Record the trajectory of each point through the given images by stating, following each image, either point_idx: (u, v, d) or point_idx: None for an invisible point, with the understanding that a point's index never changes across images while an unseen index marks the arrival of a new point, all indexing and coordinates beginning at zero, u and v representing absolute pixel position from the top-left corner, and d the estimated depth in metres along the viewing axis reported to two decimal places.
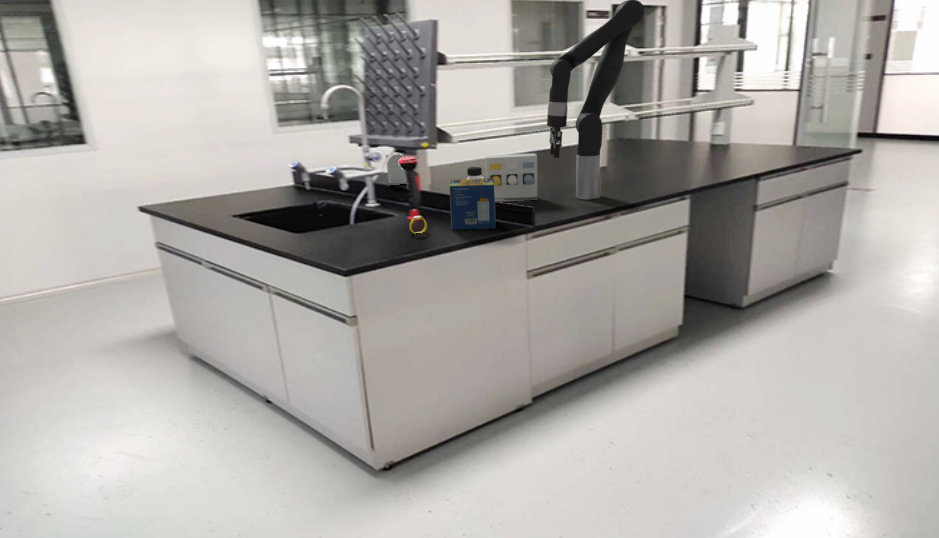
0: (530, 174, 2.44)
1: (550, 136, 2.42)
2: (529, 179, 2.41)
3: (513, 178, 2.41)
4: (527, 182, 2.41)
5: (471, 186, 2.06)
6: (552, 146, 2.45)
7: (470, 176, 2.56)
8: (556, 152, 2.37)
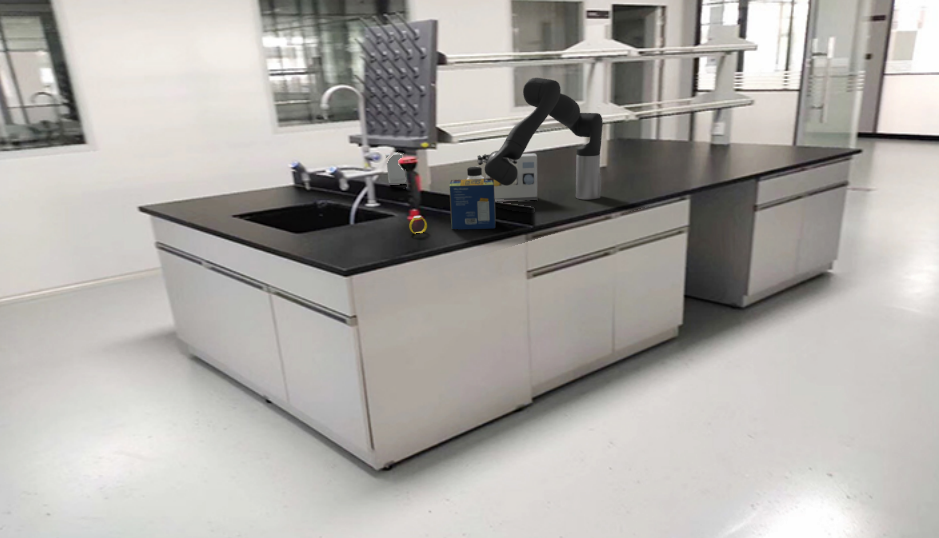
0: (530, 174, 2.44)
1: None
2: (529, 179, 2.41)
3: None
4: (527, 182, 2.41)
5: (471, 186, 2.06)
6: None
7: (470, 176, 2.56)
8: None
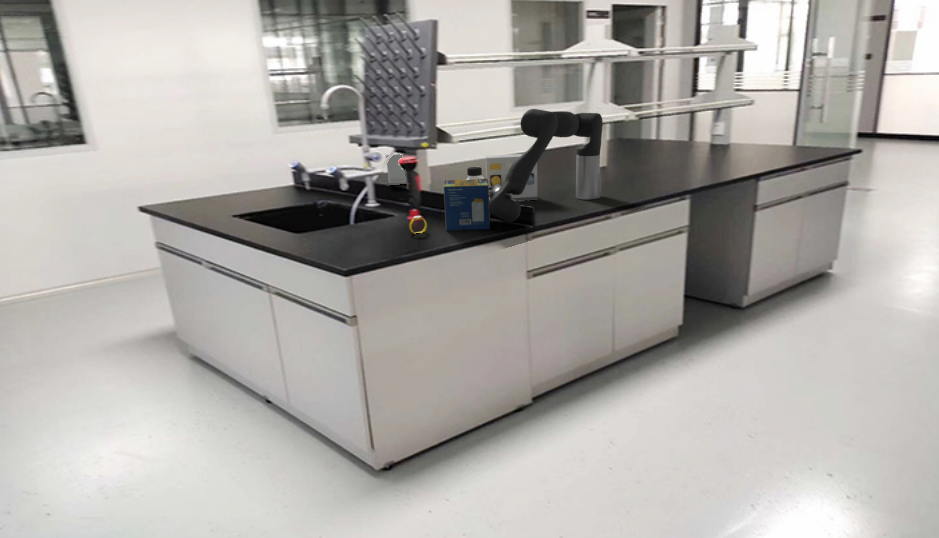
0: None
1: None
2: (529, 179, 2.41)
3: None
4: (527, 182, 2.41)
5: (465, 187, 2.06)
6: None
7: (470, 176, 2.56)
8: None
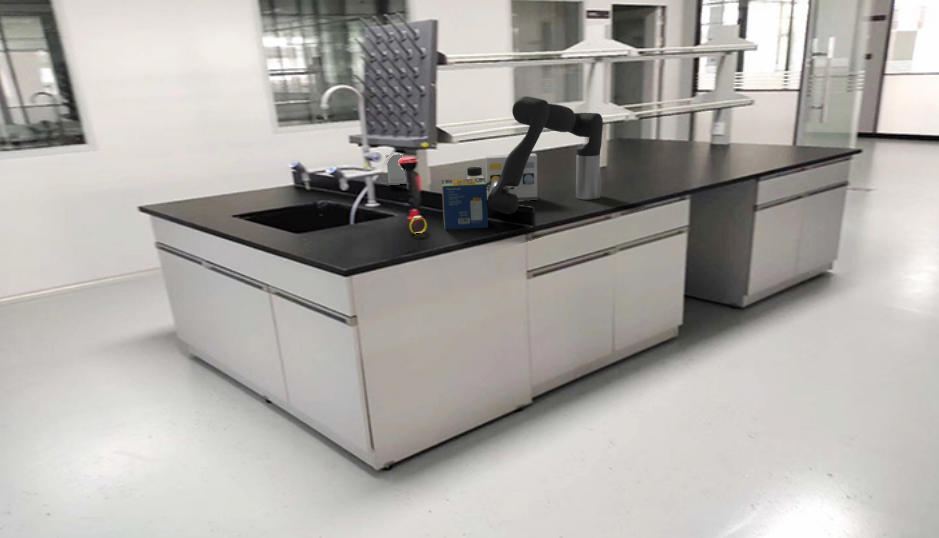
0: (530, 174, 2.44)
1: None
2: (529, 179, 2.41)
3: None
4: (527, 182, 2.41)
5: (464, 186, 2.07)
6: None
7: (470, 176, 2.56)
8: None
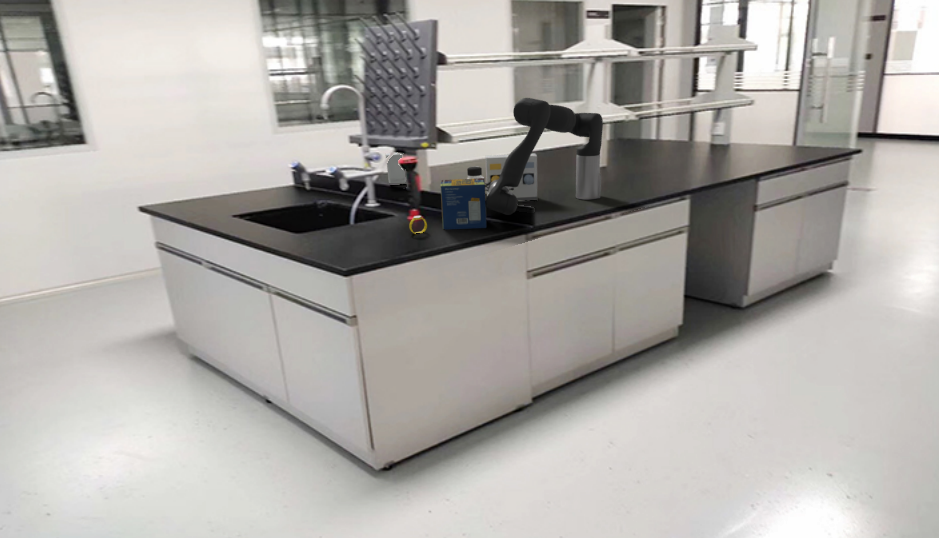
0: (530, 174, 2.44)
1: None
2: (529, 179, 2.41)
3: None
4: (527, 182, 2.41)
5: (462, 186, 2.07)
6: None
7: (470, 176, 2.56)
8: None
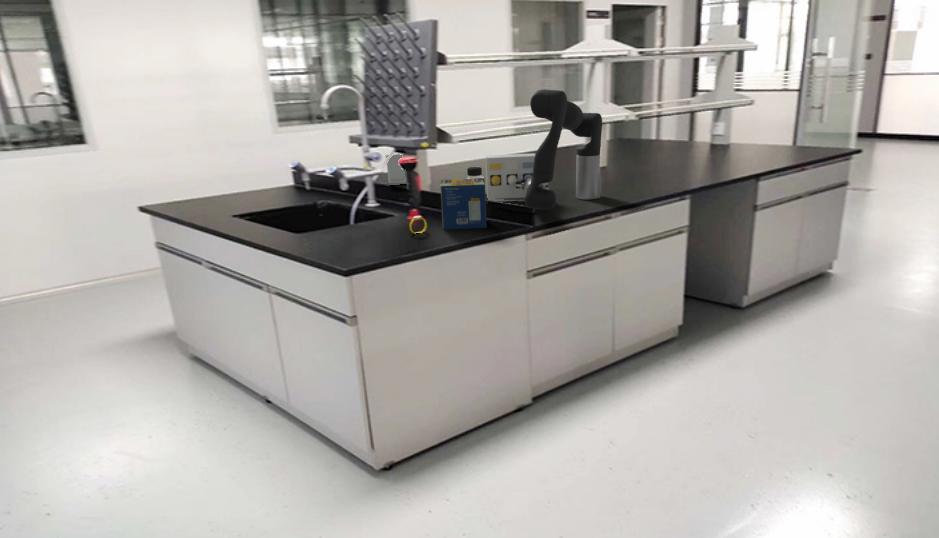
0: (530, 174, 2.45)
1: None
2: None
3: (513, 178, 2.41)
4: None
5: (462, 186, 2.07)
6: None
7: (470, 176, 2.56)
8: None
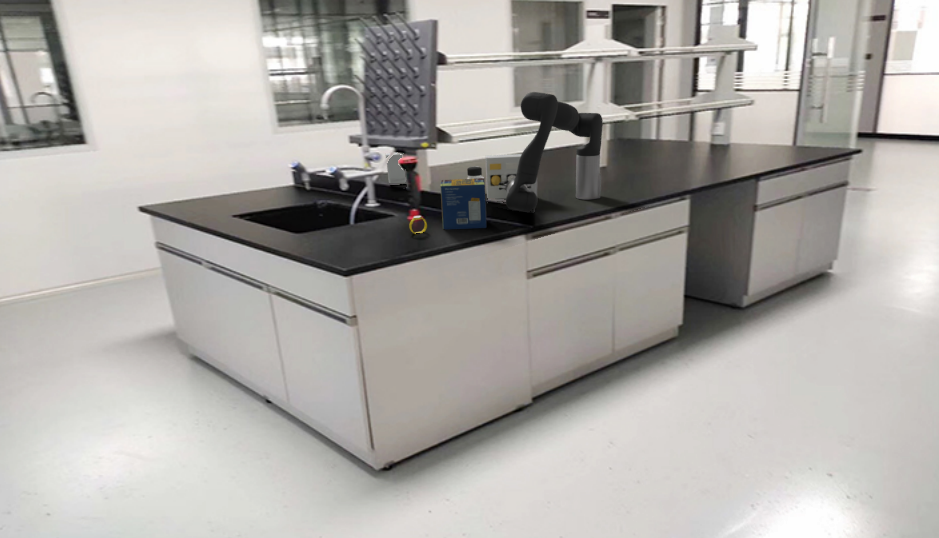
0: None
1: None
2: None
3: None
4: None
5: (462, 186, 2.07)
6: None
7: (470, 176, 2.56)
8: None
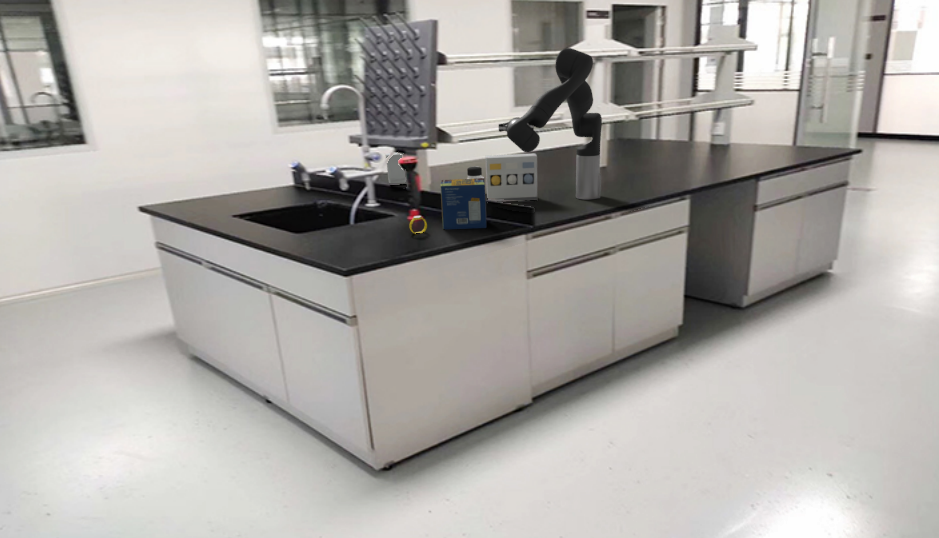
0: (529, 173, 2.46)
1: None
2: (528, 177, 2.43)
3: (512, 177, 2.43)
4: (526, 181, 2.44)
5: (462, 186, 2.07)
6: None
7: (470, 176, 2.56)
8: None
